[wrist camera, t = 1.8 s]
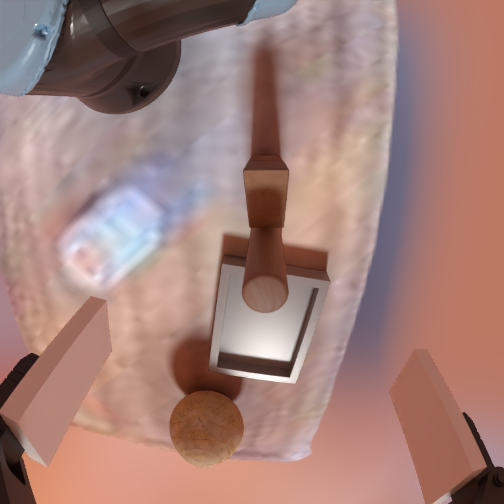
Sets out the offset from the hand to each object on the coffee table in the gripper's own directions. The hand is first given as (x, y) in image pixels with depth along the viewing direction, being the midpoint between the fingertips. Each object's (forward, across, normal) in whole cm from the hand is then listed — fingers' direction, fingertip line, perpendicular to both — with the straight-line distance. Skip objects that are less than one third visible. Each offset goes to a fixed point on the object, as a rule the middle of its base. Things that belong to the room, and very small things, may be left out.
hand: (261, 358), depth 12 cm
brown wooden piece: (+29, 0, 0) cm, 29 cm away
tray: (+29, +3, -18) cm, 34 cm away
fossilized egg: (+29, -3, -38) cm, 48 cm away
